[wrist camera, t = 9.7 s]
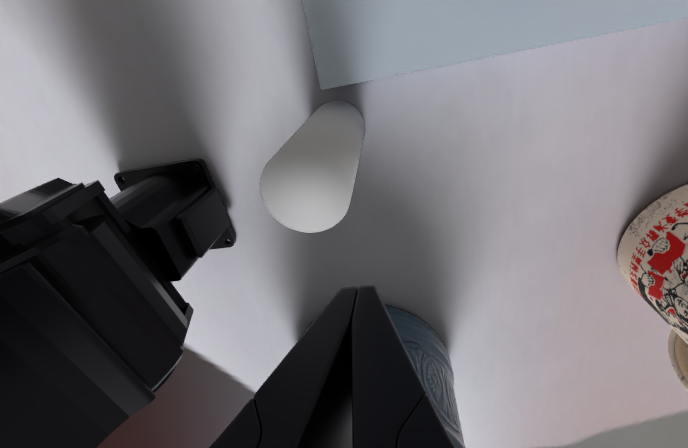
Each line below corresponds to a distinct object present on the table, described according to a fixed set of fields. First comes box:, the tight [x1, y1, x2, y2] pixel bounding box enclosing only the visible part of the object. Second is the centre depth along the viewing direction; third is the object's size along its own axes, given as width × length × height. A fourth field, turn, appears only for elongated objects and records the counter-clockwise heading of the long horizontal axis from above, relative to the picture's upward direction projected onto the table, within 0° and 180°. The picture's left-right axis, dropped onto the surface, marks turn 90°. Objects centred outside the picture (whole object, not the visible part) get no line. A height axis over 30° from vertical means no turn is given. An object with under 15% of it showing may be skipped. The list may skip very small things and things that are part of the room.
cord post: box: [260, 100, 365, 233], centre depth 15 cm, size 3×3×9 cm
